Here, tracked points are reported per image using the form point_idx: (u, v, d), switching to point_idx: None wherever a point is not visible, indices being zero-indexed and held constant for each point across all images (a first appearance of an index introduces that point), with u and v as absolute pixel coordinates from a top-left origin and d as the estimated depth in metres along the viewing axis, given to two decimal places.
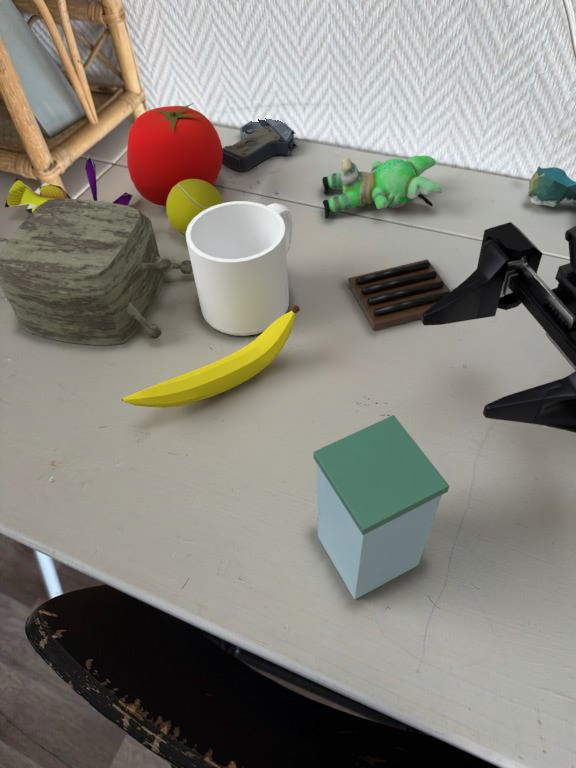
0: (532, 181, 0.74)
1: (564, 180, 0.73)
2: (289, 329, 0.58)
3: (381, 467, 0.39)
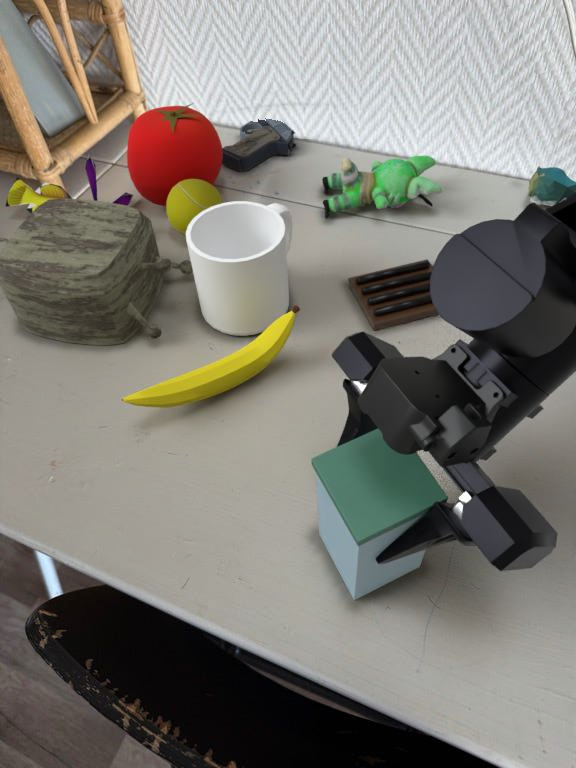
0: (532, 181, 0.74)
1: (564, 180, 0.73)
2: (289, 329, 0.58)
3: (379, 476, 0.38)
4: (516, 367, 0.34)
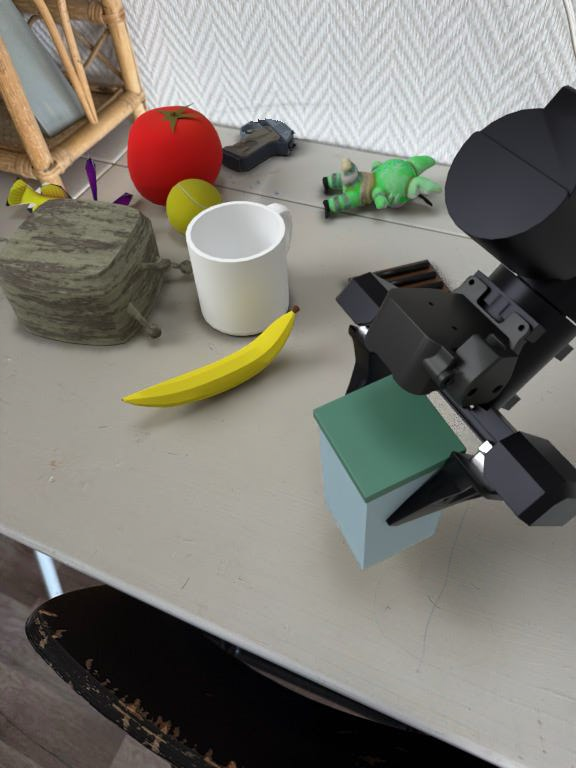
0: None
1: None
2: (289, 329, 0.58)
3: (389, 427, 0.34)
4: (544, 296, 0.30)
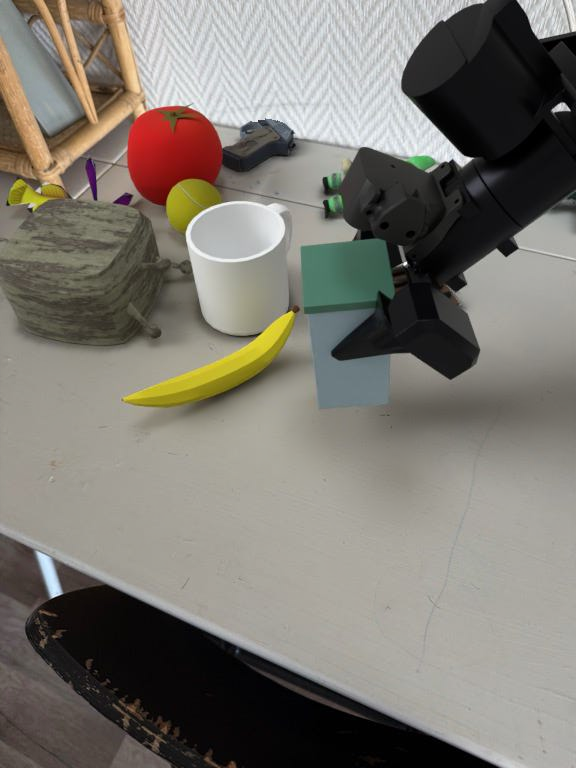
0: None
1: None
2: (289, 329, 0.58)
3: (347, 270, 0.42)
4: (485, 181, 0.37)
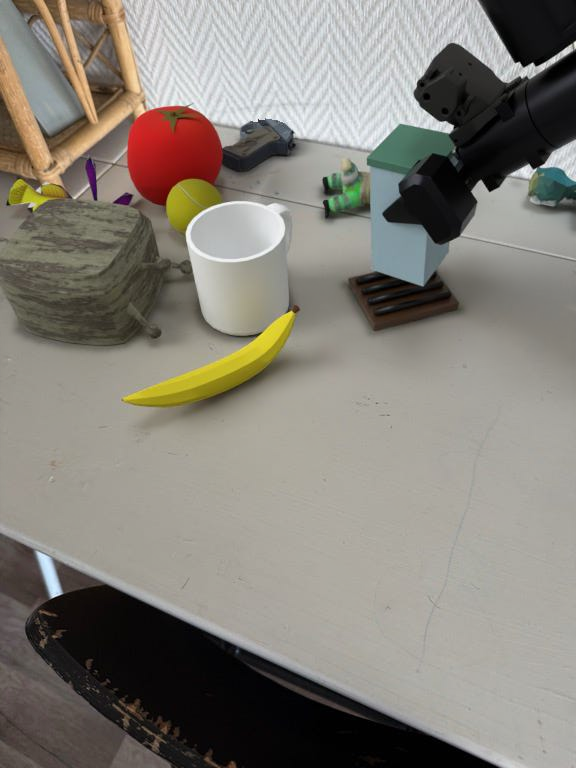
0: (532, 181, 0.74)
1: (564, 180, 0.73)
2: (289, 329, 0.58)
3: (416, 147, 0.53)
4: (526, 91, 0.44)
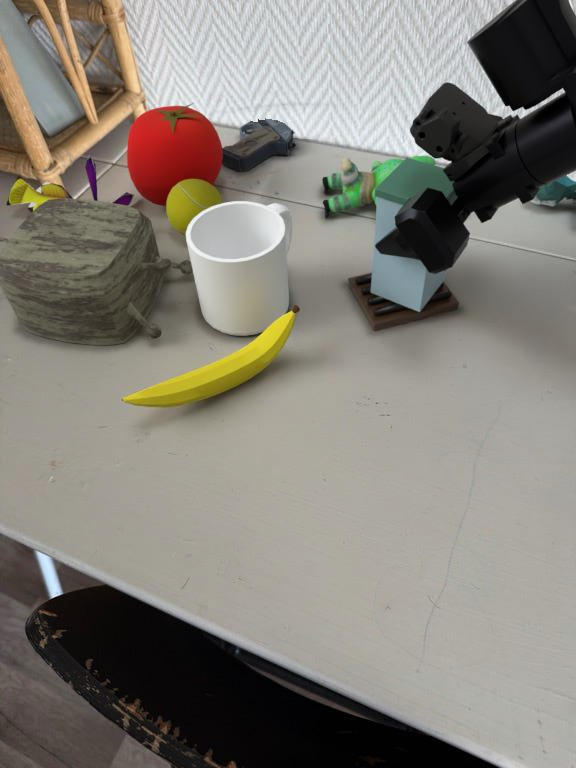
0: None
1: (563, 180, 0.73)
2: (289, 329, 0.58)
3: (422, 181, 0.56)
4: (516, 131, 0.47)
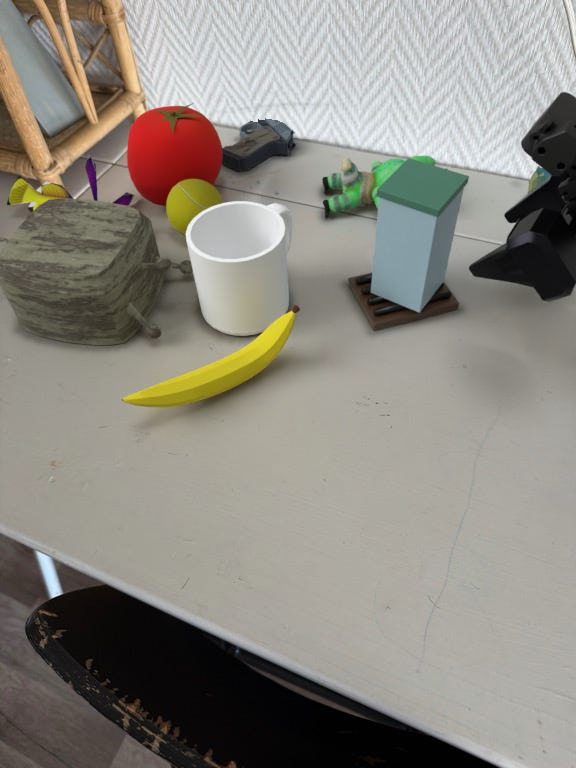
0: (531, 181, 0.74)
1: None
2: (289, 329, 0.58)
3: (424, 182, 0.56)
4: None
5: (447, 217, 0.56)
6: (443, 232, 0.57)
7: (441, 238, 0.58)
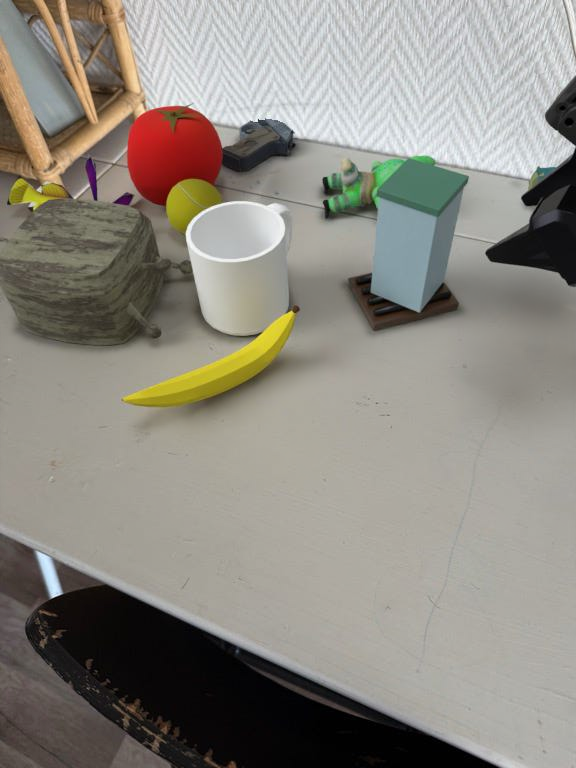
0: (531, 181, 0.74)
1: None
2: (289, 329, 0.58)
3: (424, 182, 0.56)
4: None
5: (447, 217, 0.56)
6: (443, 232, 0.57)
7: (441, 238, 0.58)
